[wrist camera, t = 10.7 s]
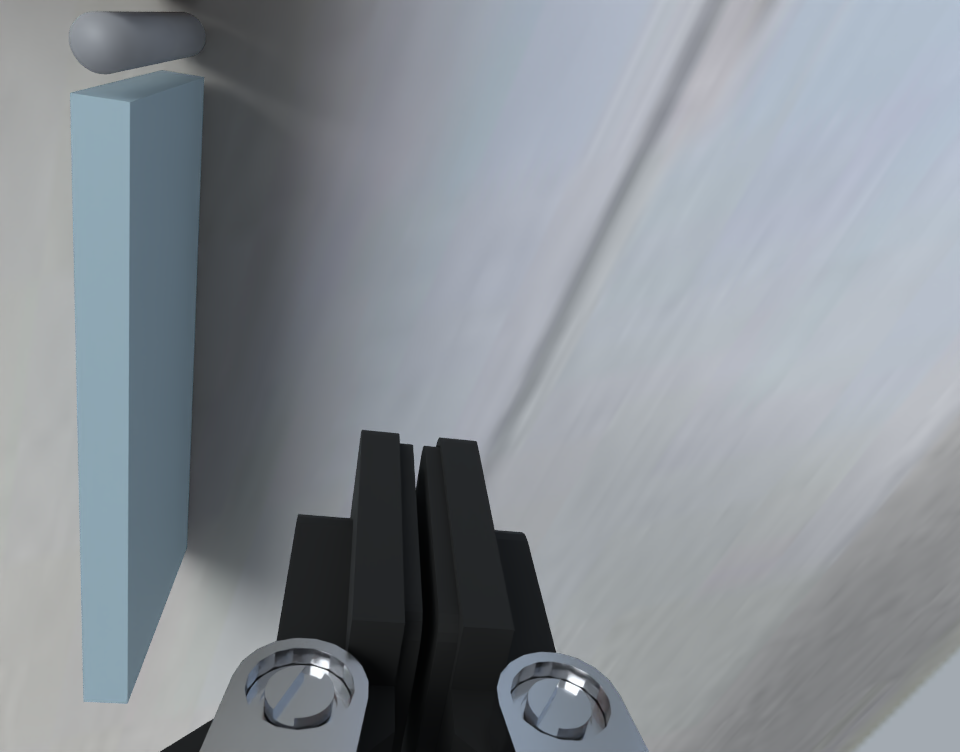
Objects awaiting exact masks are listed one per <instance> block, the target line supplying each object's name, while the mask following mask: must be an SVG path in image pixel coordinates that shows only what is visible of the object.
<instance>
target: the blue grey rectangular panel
mask: <svg viewBox="0 0 960 752" xmlns="http://www.w3.org/2000/svg"><path fill="white" fill-rule="evenodd" d="M205 40H206V35H205V30H204V27H203V26H202V24H201V22H200V21H199V20H198V19H197V18H196V17H194V16H193V15H191V14H189V13H185V12H98V11H95V12H87V13H84V14H82V15H80V16H79V17H78V18H77V19H76V20H75V21H74V22H73V24H72V26H71V28H70V32H69V43H70V47H71V50H72V52H73V54H74V56H75V58H76V59H77V60H78V61H79V63H80V64H81V65H83V66H84V67H85V68H87V69H88V70H90V71H92V72H95V73H99V74H111V73H116V72H120V71H125V70H130V69H134V68H139V67H144V66H148V65H153V64H158V63H162V62H167V61H172V60H177V59H181V58H186V57H191V56H194V55H196V54H198V53H199V52H200V51H201V50H202V49H203V47H204V45H205ZM203 98H204V77H201V76H195V75H188V74H182V73H176V72H170V71H164V70H161V71H157V72H153V73H149V74H145V75H141V76H137V77H133V78H129V79H124V80H120V81H116V82H112V83H108V84H104V85H100V86H96V87H92V88H88V89H84V90H80V91H76V92H72V93H70V107H71V152H72V198H73V243H74V288H75V333H76V379H77V424H78V469H79V514H80V560H81V605H82V650H83V695H84V702H104V703H124V704H127V703H128V701H129V698H130V696H131V693H132V690H133V688H134V685H135V683H136V680H137V677H138V675H139V672H140V669H141V667H142V664H143V662H144V659H145V656H146V654H147V651H148V648H149V646H150V643H151V641H152V638H153V635H154V633H155V630H156V627H157V625H158V622H159V620H160V617H161V614H162V612H163V609H164V607H165V604H166V601H167V599H168V596H169V593H170V591H171V588H172V586H173V583H174V580H175V578H176V575H177V572H178V570H179V567H180V565H181V562H182V559H183V557H184V554H185V552H186V549H187V533H188V506H189V478H190V451H191V424H192V397H193V370H194V343H195V315H196V288H197V261H198V234H199V207H200V179H201V152H202V125H203Z"/></svg>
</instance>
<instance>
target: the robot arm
mask: <svg viewBox="0 0 960 752" xmlns="http://www.w3.org/2000/svg"><path fill="white" fill-rule="evenodd" d="M160 752H649V751H648V749H647V747H646V745H645V743H644V741H643V739H642V737H641V735H640V733H639V731H638V729H637V727H636V725H635V723H634V722H633V720H632V718H631V716H630V714H629V712H628V710H627V708H626V706H625V704H624V702H623V700H622V698H621V696H620V694H619V693H618V691H617V690H616V689H615V687H614V686H613V684H612V683H611V682H610V680H609V679H608V678H607V677H605V676H604V675H603V674H602V673H601V672H599V671H598V670H597V669H596V668H595V667H593V666H591V665H589V664H587V663H585V662H584V661H582V660H580V659H578V658H575V657H571V656H568V655H564V654H561V653H556V650H555V647H554V643H553V639H552V635H551V631H550V627H549V623H548V619H547V615H546V611H545V607H544V603H543V600H542V596H541V592H540V588H539V584H538V580H537V576H536V572H535V568H534V564H533V560H532V557H531V553H530V549H529V545H528V541H527V538H526V536H525V534H523V533H522V532H510V531H498V530H494V525H493V520H492V515H491V510H490V505H489V500H488V495H487V490H486V485H485V480H484V475H483V470H482V465H481V460H480V455H479V450H478V445H477V442H476V441H469V440H459V439H449V438H439V439H438V442H437V445H436V447H431V446H424V447H423V450H422V455H421V461H420V467H419V474H418V480H417V486H416V488H415V471H414V454H413V445H410V444H400V437H399V434H398V433H388V432H378V431H368V430H362V431H361V438H360V445H359V453H358V461H357V469H356V477H355V485H354V493H353V501H352V509H351V517H350V518H338V517H326V516H313V515H301V514H298V517H297V522H296V528H295V534H294V540H293V546H292V552H291V558H290V564H289V570H288V576H287V582H286V588H285V594H284V600H283V606H282V612H281V618H280V624H279V630H278V636H277V641H275V642H273V643H270V644H268V645H266V646H263V647H261V648H259V649H257V650H255V651H254V652H253V653H252V654H250V655H249V656H248V657H246V658H245V659H244V660H243V661H242V662H241V663H240V665H239V666H238V668H237V669H236V671H235V672H234V674H233V675H232V678H231V680H230V682H229V685H228V687H227V689H226V692H225V694H224V696H223V698H222V701H221V703H220V705H219V708H218V710H217V712H216V715H215V717H214V719H212V720H211V721H209V722H207V723H206V724H204V725H203V726H201V727H199V728H198V729H196V730H195V731H193V732H191V733H190V734H188V735H186V736H185V737H183V738H182V739H180V740H178V741H177V742H175V743H173V744H172V745H170V746H169V747H167V748H165V749H164V750H162V751H160Z"/></svg>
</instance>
